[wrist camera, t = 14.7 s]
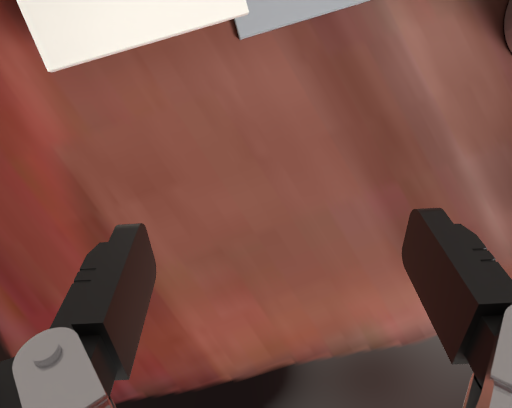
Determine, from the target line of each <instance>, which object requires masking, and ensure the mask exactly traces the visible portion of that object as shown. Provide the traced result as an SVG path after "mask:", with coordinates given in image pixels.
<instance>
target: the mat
mask: <svg viewBox="0 0 512 408" xmlns="http://www.w3.org/2000/svg"><path fill="white" fill-rule="evenodd" d="M367 1H370V0H246V3H247V6H248V10H249V13H248V15H245V16H241V17H238V18H235V19H234V22H235V25H236V29H237V32H238V36H239V39H240V40H241V39H244V38H248V37H251V36H254V35H258V34H261V33H264V32H267V31H271V30H274V29H277V28H281V27H284V26H287V25H291V24H294V23H297V22H301V21H304V20H307V19H311V18H314V17H317V16H320V15H324V14H327V13H330V12H334V11H337V10H340V9H344V8H347V7H350V6H354V5H357V4H360V3H364V2H367Z"/></svg>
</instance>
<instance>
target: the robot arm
mask: <svg viewBox="0 0 512 408" xmlns="http://www.w3.org/2000/svg"><path fill="white" fill-rule="evenodd" d="M504 32H505V38H506V42H507V44H508V47H509V49H510V51H511V52H512V0H510V1H509V4H508V6H507V9H506V14H505V20H504ZM402 260H403V264H404V267H405V270H406V272H407V274H408V276H409V278H410V280H411V282H412V284H413V286H414V288H415V290H416V292H417V294H418V296H419V298H420V300H421V302H422V304H423V306H424V308H425V310H426V312H427V314H428V317H429V319H430V321H431V323H432V325H433V327H434V329H435V331H436V333H437V335H438V337H439V339H440V341H441V343H442V345H443V347H444V349H445V351H446V353H447V355H448V357H449V359H450V361H451V363H452V364H469V365H470V367H471V368H472V371H473V372H474V373H473V374H472V377H471V379H470V382H469V386H468V390H467V394H466V397H465V401H464V405H463V408H512V279H511V278H510V277H509V276H508V274H507V273H506V272H505V271H504V269H503V268H502V267H501V265H500V264H499V263H498V262H496V261H495V258H494V257H493V255H492V254H491V253H490V252H489V251H487V248H486V247H485V245H484V244H483V243H482V241H481V240H480V239H479V238H478V236H477V235H476V234H474V233H473V232H471V231H470V230H468V229H467V228H466V227H464V226H463V225H461V224H453V223H452V221H451V220H450V218H449V217H448V216H447V214H446V213H445V212H444V210H443V209H441V208H427V209H414V210H412V212H411V214H410V217H409V221H408V225H407V230H406V234H405V238H404V242H403V247H402ZM155 279H156V263H155V258H154V255H153V251H152V248H151V244H150V241H149V237H148V234H147V230H146V227H145V225H144V224H142V223H141V224H123V225H117V226H116V227H115V229H114V231H113V233H112V235H111V237H110V240H109V242H103V243H99V244H98V245H97V246H96V247H95V248H94V249H93V250H92V251H91V252H89V253H88V254H87V256H86V258H85V260H84V262H83V264H82V265H81V267H80V272H78V273H77V275H76V277H75V279H74V284H72V285H71V287H70V289H69V291H68V293H67V295H66V297H65V299H64V301H63V303H62V305H61V307H60V309H59V311H58V313H57V315H56V317H55V319H54V321H53V323H52V325H51V327H50V329H48V330H45V331H43V332H41V333H39V334H37V335H36V336H34V337H33V338H31V339H30V340H29V341H28V342H26V343H25V344H24V345H23V346H22V348H21V349H20V350H19V351H18V353H17V354H16V356H15V357H13V358H11V359H8V360H5V361H1V362H0V408H116V407H115V404H114V402H113V400H112V398H111V396H110V394H111V390H112V387H113V384H114V380H129V378H130V374H131V370H132V366H133V362H134V359H135V355H136V351H137V347H138V344H139V340H140V336H141V332H142V328H143V325H144V321H145V317H146V313H147V310H148V306H149V302H150V298H151V294H152V291H153V287H154V283H155Z"/></svg>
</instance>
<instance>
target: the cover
mask: <svg viewBox="0 0 512 408" xmlns="http://www.w3.org/2000/svg"><path fill="white" fill-rule="evenodd" d="M16 1H17V3H18V5H19V8H20V10H21V12H22V14H23V17H24V19H25V21H26V23H27V26H28V28H29V30H30V32H31V35H32V37H33V39H34V41H35V44H36V46H37V48H38V50H39V53H40V55H41V57H42V59H43V62H44V64H45V66H46V68H47V71H48V72H55V71H58V70H61V69H65V68H68V67H72V66H75V65H78V64H82V63H85V62H89V61H92V60H95V59H99V58H102V57H105V56H109V55H112V54H116V53H119V52H122V51H126V50H129V49H133V48H136V47H139V46H143V45H146V44H150V43H153V42H156V41H160V40H163V39H167V38H170V37H173V36H177V35H180V34H184V33H187V32H190V31H194V30H197V29H201V28H204V27H207V26H211V25H214V24H218V23H221V22H224V21H228V20H231V19H235V18H238V17H241V16H245V15H248V13H249V10H248V6H247V3H246V0H16Z"/></svg>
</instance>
